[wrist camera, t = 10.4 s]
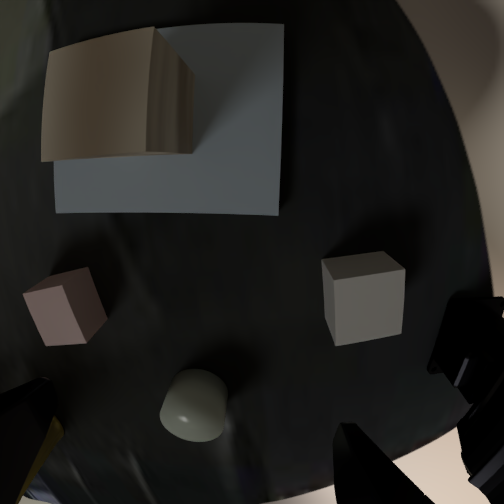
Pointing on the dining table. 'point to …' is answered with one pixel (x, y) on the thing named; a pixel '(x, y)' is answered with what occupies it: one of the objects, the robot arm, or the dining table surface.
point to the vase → (44, 452)
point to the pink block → (66, 308)
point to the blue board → (201, 135)
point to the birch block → (117, 99)
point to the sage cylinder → (195, 405)
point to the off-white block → (363, 297)
